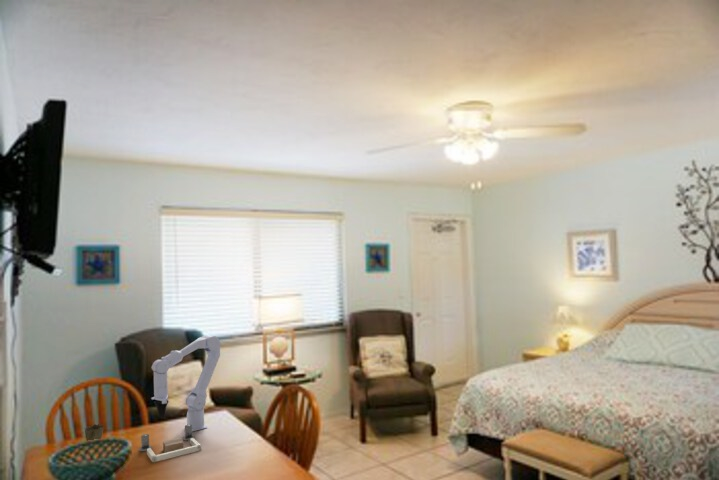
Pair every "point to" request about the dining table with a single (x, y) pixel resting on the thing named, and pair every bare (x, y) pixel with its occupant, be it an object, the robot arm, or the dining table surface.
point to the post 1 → (144, 443)
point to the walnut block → (172, 445)
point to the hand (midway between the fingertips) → (161, 416)
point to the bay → (174, 452)
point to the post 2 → (188, 433)
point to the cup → (94, 432)
